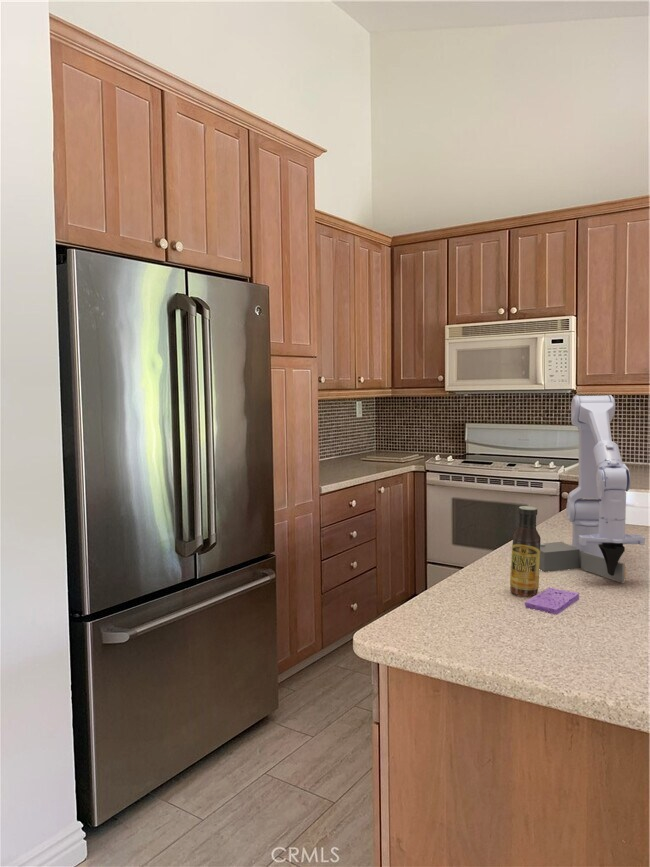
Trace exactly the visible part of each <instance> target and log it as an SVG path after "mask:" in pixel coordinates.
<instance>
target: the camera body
mask: <svg viewBox="0 0 650 867" xmlns="http://www.w3.org/2000/svg"><path fill="white" fill-rule="evenodd" d="M579 551H580V549H578V548H575V547H573V546H572V545H570V544H568V543H565V542H562V541H556V542H555V541H554V542H540V568H539V569H540V570H539V571H541V570H542V572H543V571H544V573H546V572H547V573H548V571H550V572H557V571H559V570H560V571H568V569H570V570H579V569H580V568H579Z"/></svg>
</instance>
